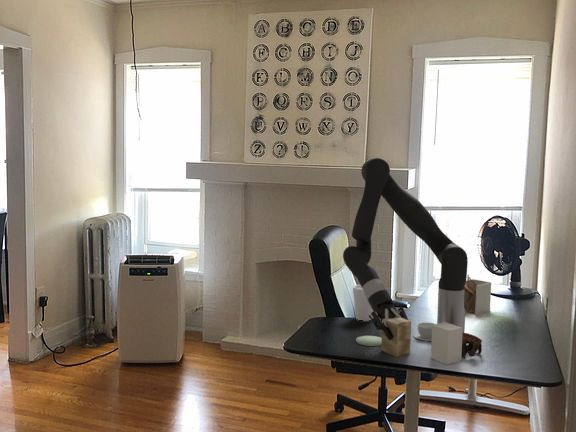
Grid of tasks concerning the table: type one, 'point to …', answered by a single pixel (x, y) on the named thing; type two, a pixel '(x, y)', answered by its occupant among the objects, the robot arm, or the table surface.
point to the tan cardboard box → (397, 337)
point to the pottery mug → (470, 345)
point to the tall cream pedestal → (446, 343)
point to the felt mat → (369, 340)
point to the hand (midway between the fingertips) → (399, 337)
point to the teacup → (424, 331)
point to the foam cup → (361, 304)
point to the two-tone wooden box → (477, 296)
